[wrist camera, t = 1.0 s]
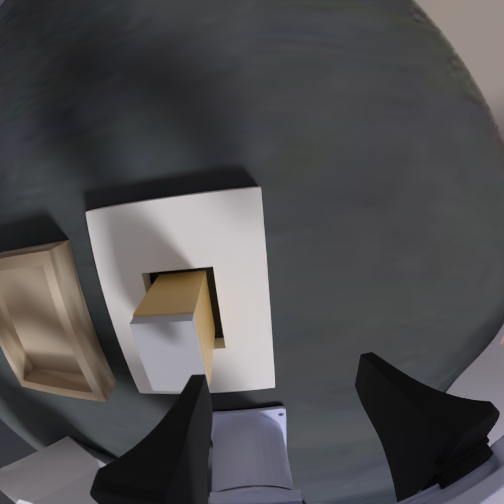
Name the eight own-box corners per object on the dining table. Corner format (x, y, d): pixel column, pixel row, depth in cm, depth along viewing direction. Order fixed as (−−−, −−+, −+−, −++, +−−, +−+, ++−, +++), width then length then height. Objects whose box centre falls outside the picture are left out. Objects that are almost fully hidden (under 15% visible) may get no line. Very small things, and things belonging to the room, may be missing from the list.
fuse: (215, 329, 21) (209, 391, 14) (172, 332, 21) (153, 392, 14) (205, 270, 20) (192, 319, 13) (159, 274, 20) (127, 322, 13)
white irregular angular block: (116, 565, 15) (183, 569, 14) (-23, 486, 9) (-14, 475, 8) (126, 495, 31) (184, 476, 30) (15, 419, 25) (45, 382, 24)
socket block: (272, 376, 23) (275, 387, 21) (143, 382, 22) (139, 393, 21) (258, 186, 18) (260, 187, 17) (95, 208, 18) (85, 212, 16)
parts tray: (116, 381, 22) (106, 401, 19) (33, 371, 22) (22, 386, 19) (69, 239, 18) (48, 250, 16) (-11, 254, 18) (-29, 263, 15)
